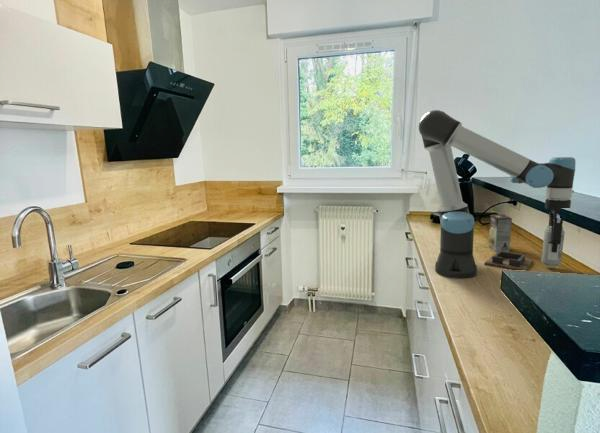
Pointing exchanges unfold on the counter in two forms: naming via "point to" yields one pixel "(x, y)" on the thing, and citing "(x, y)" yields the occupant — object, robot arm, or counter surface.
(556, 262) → the energy drink can
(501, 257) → the socket board
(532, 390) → the counter surface
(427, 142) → the robot arm
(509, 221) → the coffee box
